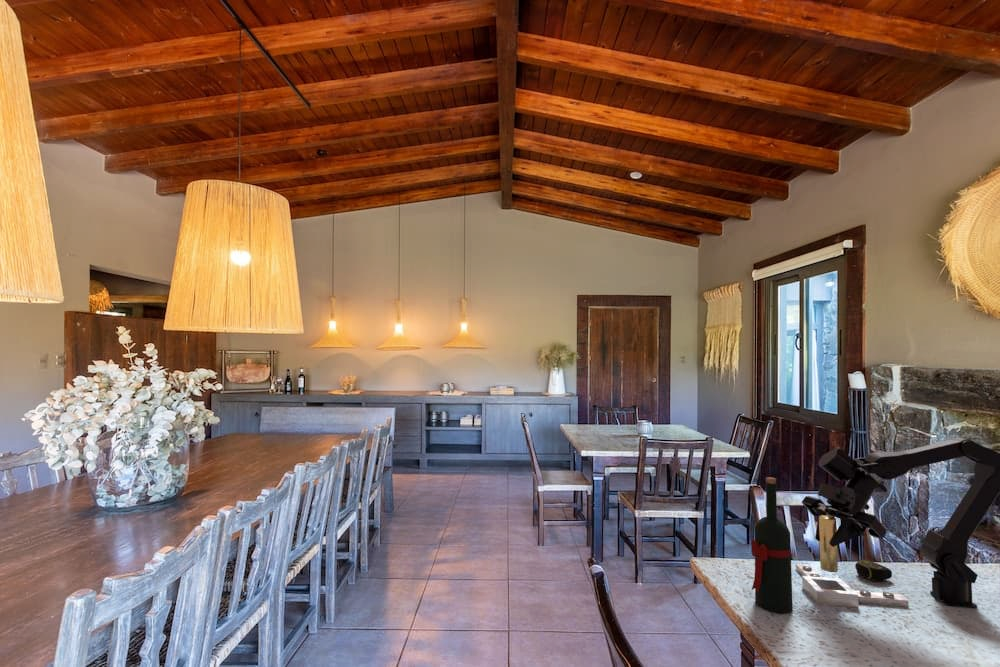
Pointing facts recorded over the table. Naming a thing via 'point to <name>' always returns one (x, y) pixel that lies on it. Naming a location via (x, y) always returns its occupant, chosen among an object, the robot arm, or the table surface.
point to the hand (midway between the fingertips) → (823, 542)
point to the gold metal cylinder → (827, 544)
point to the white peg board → (842, 591)
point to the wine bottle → (772, 558)
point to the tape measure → (873, 571)
